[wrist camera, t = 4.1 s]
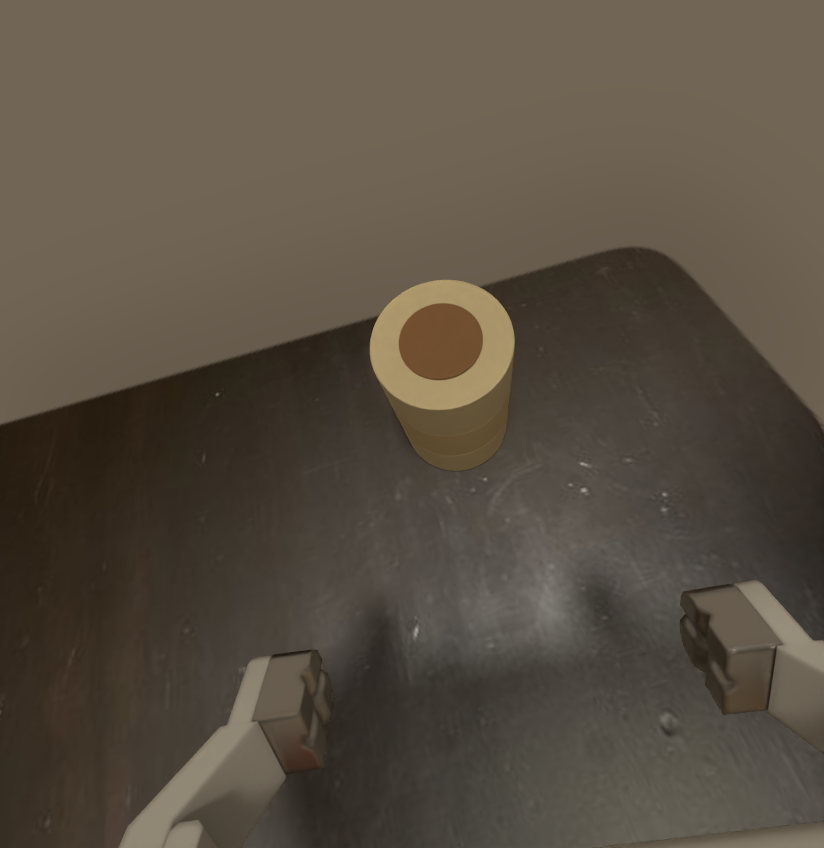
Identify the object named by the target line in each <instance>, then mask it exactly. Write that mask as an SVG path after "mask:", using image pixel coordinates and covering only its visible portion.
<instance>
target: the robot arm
mask: <svg viewBox="0 0 824 848" xmlns="http://www.w3.org/2000/svg"><path fill="white" fill-rule="evenodd" d="M680 605H681V607H682V608H683V610H684V612H685V613H686V614H685V615H684V616H683V617H682V618H681V620H680V633H681V637H682V641H683V645H684V647H685V649H686V652H687V654H688V656H689V658H690V660H691V661H692V663H693V665H694V666H695V667H697V668H698V669H700V670H701V671H703V672H705V673H706V679H705V685H706V687H707V689H708V690H709V692H710V694H711V695H712V697H713V699H714V700H715V702H716V704H717V705H718V707H719V709H720V710H721V712H722V714H723V715H726V714H735V713H745V712H754V711H764V710H768V713H769V714H771V715H772V716H773V717H775V718H776V719H777V720H779V721H780V722H781V723H783V724H784V725H785V726H787V727H788V728H789V729H791V730H792V731H793V732H795V733H796V734H797V735H799V736H800V737H801V738H803V739H804V740H805V741H807V742H808V743H809V744H811V745H812V746H813V747H815V748H816V749H817V750H819V751H820V752H822V753H823V754H824V641H822V640H817V641H813V640H812V639H811V638H810V636H809V635H808V634H807V633H806V632H805V631H804V630H803V629H802V627H801V626H800V625H799V624H798V623H797V622H796V621H795V620H794V618H793V617H792V616H791V615H790V614H789V613H788V612H787V611H786V610H785V608H784V607H783V606H782V605H781V604H780V603H779V602H778V601H777V599H776V598H775V597H774V596H773V595H772V594H771V593H770V592H769V590H768V589H767V588H766V587H765V586H764V585H763V584H762V583H761V582H759V581H757V580H752V581H746V582H739V583H733V584H726V585H720V586H714V587H708V588H702V589H696V590H690V591H684V592H683V593H682V595H681V600H680ZM321 664H322V658H321V656H320V654H319V652H318V650H306V651H298V652H290V653H282V654H274V655H269V656H262V657H254V658H252V659H251V661H250V662H249V663H248V665H247V668H246V671H245V673H244V676H243V679H242V682H241V685H240V688H239V691H238V694H237V697H236V700H235V703H234V706H233V709H232V712H231V715H230V718H229V720H228V723H227V725H226V726H220V728H219V729H218V730H217V731H216V732H215V733H214V734H213V735H212V736H211V737H210V738H209V739H208V741H207V742H206V743H205V744H204V745H203V746H202V747H201V748H200V749H199V750H198V751H197V752H196V753H195V755H194V756H193V757H192V758H191V759H190V760H189V761H188V762H187V763H186V764H185V765H184V766H183V768H182V769H181V770H180V771H179V772H178V773H177V774H176V775H175V776H174V777H173V778H172V779H171V780H170V782H169V783H168V784H167V785H166V786H165V787H164V788H163V789H162V790H161V791H160V792H159V793H158V795H157V796H156V797H155V798H154V799H153V800H152V801H151V802H150V803H149V804H148V805H147V806H146V807H145V809H144V810H143V811H142V812H141V813H140V814H139V815H138V816H137V817H136V818H135V819H134V820H133V822H132V823H131V824H130V825H129V826H128V827H127V830H126V832H125V834H124V836H123V839H122V841H121V843H120V845H119V848H242V846H243V845H244V843H245V841H246V840H247V838H248V837H249V835H250V834H251V832H252V830H253V829H254V827H255V826H256V824H257V823H258V821H259V819H260V818H261V816H262V815H263V813H264V811H265V810H266V808H267V807H268V805H269V804H270V802H271V800H272V799H273V797H274V796H275V794H276V793H277V791H278V789H279V788H280V786H281V785H282V783H283V782H284V780H285V778H286V775H287V774H293V773H299V772H305V771H311V770H317V769H323V768H324V763H325V757H326V750H327V744H328V735H327V733H326V731H325V728H324V727H325V725H326V724H327V723H328V721H329V720H330V719H331V716H332V709H333V690H332V685H331V681H330V678H329V675H328V673H327V672H325V671H323V670H322V669H321ZM595 848H824V821H821V822H813V823H804V824H795V825H787V826H778V827H769V828H761V829H752V830H743V831H735V832H726V833H717V834H709V835H700V836H691V837H682V838H674V839H665V840H656V841H648V842H639V843H630V844H621V845H613V846H604V847H595Z"/></svg>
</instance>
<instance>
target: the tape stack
mask: <svg viewBox="0 0 824 848" xmlns="http://www.w3.org/2000/svg"><path fill="white" fill-rule="evenodd" d="M514 343H515V339H514V330H513V327H512V323H511V320H510V318H509V316H508V314H507V312H506V311H505V309H504V308H503V306H502V305H501V304H500V303H499V301H497V300H496V299H495V298H494V297H493V296H492V295H491V294H489V293H488V292H486V291H485V290H483V289H481V288H479V287H477V286H475V285H472V284H469V283H466V282H462V281H455V280H438V281H431V282H426V283H423V284H420V285H417V286H414V287H412V288H410V289H408V290H406V291H405V292H403V293H401V294H400V295H399V296H397V297H396V298H395V299H393V300H392V301H391V302H390V303H389V304H388V305H387V306H386V308H385V309H384V310H383V312H382V313H381V314H380V316H379V318H378V319H377V321H376V324H375V326H374V328H373V331H372V335H371V340H370V358H371V363H372V366H373V370H374V372H375V374H376V376H377V378H378V380H379V382H380V384H381V386H382V388H383V390H384V392H385V394H386V396H387V398H388V400H389V402H390V404H391V405H392V407H393V409H394V411H395V413H396V415H397V417H398V419H399V421H400V423H401V425H402V427H403V429H404V431H405V433H406V435H407V437H408V439H409V441H410V443H411V445H412V446H413V448H414V450H415V451H416V452H417V454H418V455H419V456H420V457H421V458H422V459H423V460H425V461H426V462H428V463H429V464H431V465H433V466H435V467H437V468H440V469H444V470H449V471H463V470H468V469H471V468H475V467H477V466H479V465H481V464H483V463H484V462H486V461H487V460H488V459H490V458H491V457H492V456H493V455H494V454H495V453H496V452H497V450H498V449H499V447H500V446H501V444H502V442H503V439H504V436H505V433H506V427H507V417H508V407H509V397H510V387H511V377H512V366H513V356H514Z"/></svg>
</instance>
